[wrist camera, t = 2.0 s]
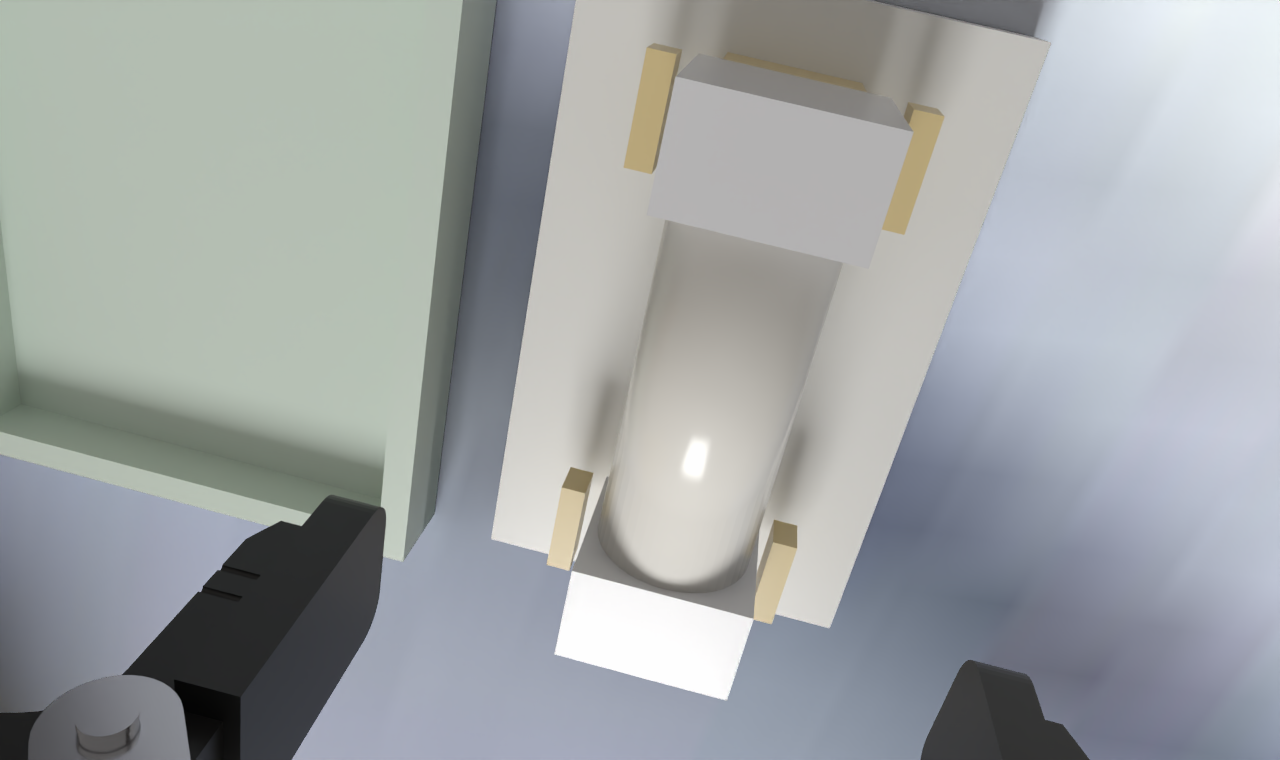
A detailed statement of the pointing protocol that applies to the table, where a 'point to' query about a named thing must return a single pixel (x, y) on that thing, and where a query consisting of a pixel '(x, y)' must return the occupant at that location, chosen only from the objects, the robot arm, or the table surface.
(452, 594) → the table surface
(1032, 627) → the table surface
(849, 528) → the fuse holder
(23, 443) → the parts tray
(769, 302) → the white fuse
